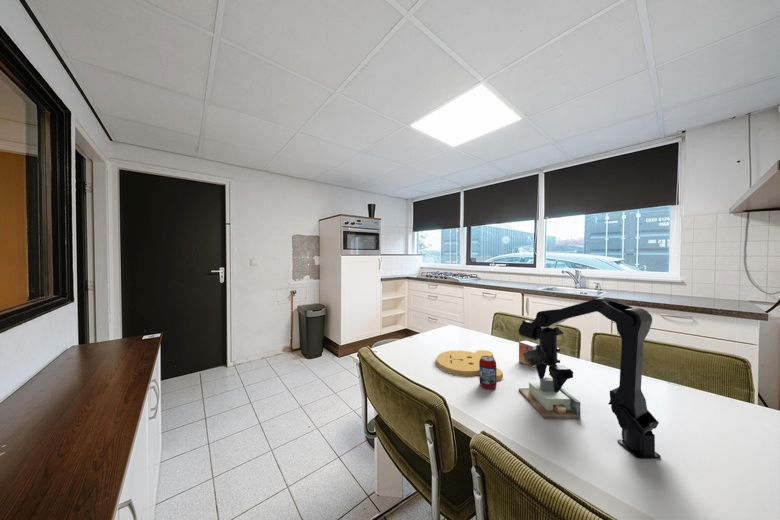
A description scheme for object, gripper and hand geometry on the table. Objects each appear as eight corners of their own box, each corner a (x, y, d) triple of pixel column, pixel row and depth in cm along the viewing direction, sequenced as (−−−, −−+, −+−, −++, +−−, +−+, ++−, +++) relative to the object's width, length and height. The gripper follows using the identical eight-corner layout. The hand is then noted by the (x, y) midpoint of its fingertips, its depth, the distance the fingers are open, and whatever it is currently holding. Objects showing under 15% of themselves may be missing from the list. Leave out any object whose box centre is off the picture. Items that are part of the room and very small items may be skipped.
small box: (518, 361, 133) (518, 341, 133) (526, 359, 135) (525, 339, 135) (532, 367, 125) (532, 346, 125) (540, 365, 128) (540, 344, 128)
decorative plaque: (435, 377, 118) (505, 382, 112) (435, 371, 118) (504, 376, 112) (437, 352, 149) (491, 355, 143) (437, 347, 149) (491, 350, 143)
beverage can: (478, 388, 107) (478, 359, 107) (480, 380, 113) (480, 354, 113) (495, 391, 104) (495, 362, 104) (497, 384, 110) (497, 356, 110)
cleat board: (580, 418, 86) (580, 402, 86) (544, 418, 87) (544, 402, 86) (548, 390, 104) (548, 377, 104) (518, 390, 105) (518, 377, 104)
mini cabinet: (570, 410, 89) (570, 387, 89) (547, 410, 89) (547, 387, 89) (549, 392, 101) (549, 371, 101) (529, 392, 101) (529, 372, 101)
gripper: (514, 336, 105) (514, 374, 105) (540, 353, 86) (541, 400, 86) (541, 336, 104) (542, 374, 105) (574, 353, 86) (574, 399, 86)
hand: (548, 385), depth 95 cm, fingers open, 9 cm apart
